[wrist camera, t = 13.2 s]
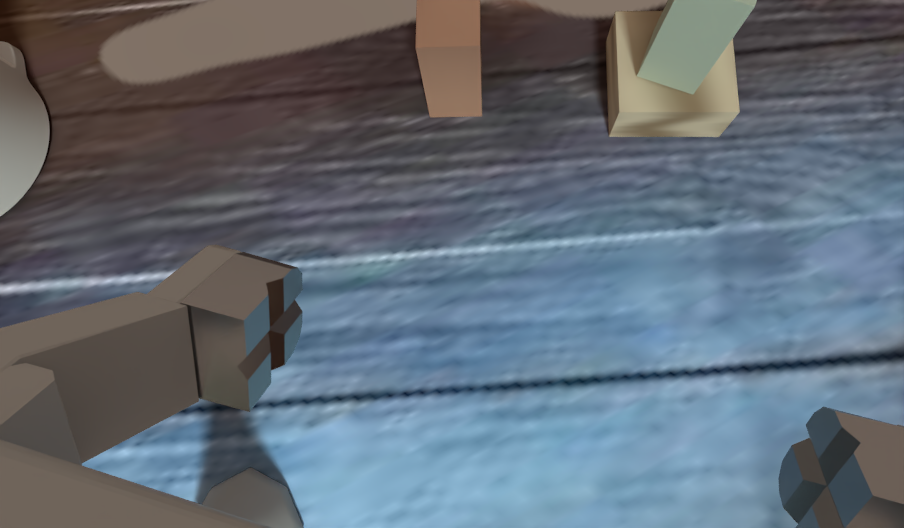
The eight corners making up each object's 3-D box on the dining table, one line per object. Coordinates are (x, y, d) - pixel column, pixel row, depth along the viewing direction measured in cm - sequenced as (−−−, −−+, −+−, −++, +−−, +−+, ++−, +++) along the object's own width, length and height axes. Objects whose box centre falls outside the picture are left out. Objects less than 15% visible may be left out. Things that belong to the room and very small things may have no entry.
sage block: (636, 76, 41) (682, -16, 32) (654, 29, 41) (702, -73, 33) (692, 94, 40) (754, 6, 31) (709, 46, 41) (773, -52, 32)
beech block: (608, 138, 44) (619, 112, 40) (604, 45, 46) (615, 11, 42) (717, 138, 43) (739, 111, 40) (709, 44, 45) (729, 9, 42)
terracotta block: (430, 117, 45) (415, 47, 36) (430, 71, 46) (417, -8, 37) (482, 116, 45) (480, 45, 36) (481, 69, 46) (479, -11, 37)
